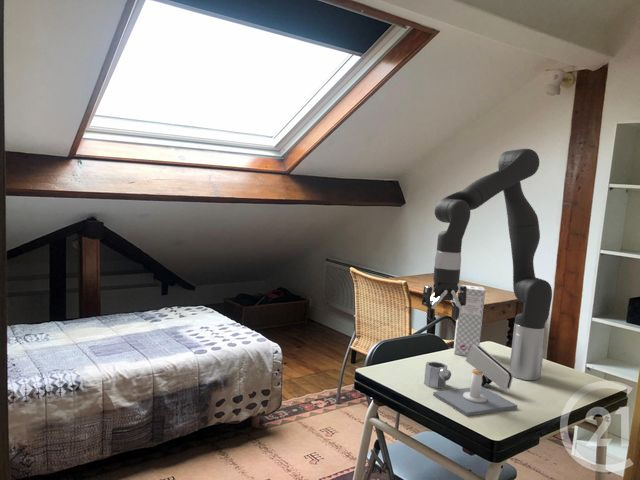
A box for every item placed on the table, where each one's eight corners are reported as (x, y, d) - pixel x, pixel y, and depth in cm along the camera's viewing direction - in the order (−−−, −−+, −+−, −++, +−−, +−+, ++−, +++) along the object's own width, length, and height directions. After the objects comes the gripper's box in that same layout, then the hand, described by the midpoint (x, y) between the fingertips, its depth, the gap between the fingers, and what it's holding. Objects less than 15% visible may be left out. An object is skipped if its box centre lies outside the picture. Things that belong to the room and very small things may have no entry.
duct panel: (481, 389, 150) (484, 360, 149) (516, 408, 137) (520, 377, 137) (433, 395, 142) (436, 364, 142) (466, 416, 130) (469, 383, 129)
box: (454, 354, 184) (461, 288, 181) (453, 347, 192) (460, 284, 190) (478, 357, 182) (485, 290, 180) (476, 351, 190) (483, 287, 188)
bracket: (460, 370, 158) (499, 401, 148) (471, 345, 155) (512, 374, 144) (467, 368, 161) (506, 398, 150) (478, 343, 157) (519, 372, 147)
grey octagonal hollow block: (436, 379, 155) (438, 360, 155) (453, 389, 148) (455, 369, 147) (420, 381, 153) (422, 361, 152) (436, 391, 145) (438, 371, 145)
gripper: (458, 264, 153) (454, 316, 154) (420, 264, 148) (415, 317, 149) (475, 268, 146) (470, 322, 148) (434, 268, 141) (430, 324, 142)
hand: (442, 320), depth 148 cm, fingers open, 8 cm apart
